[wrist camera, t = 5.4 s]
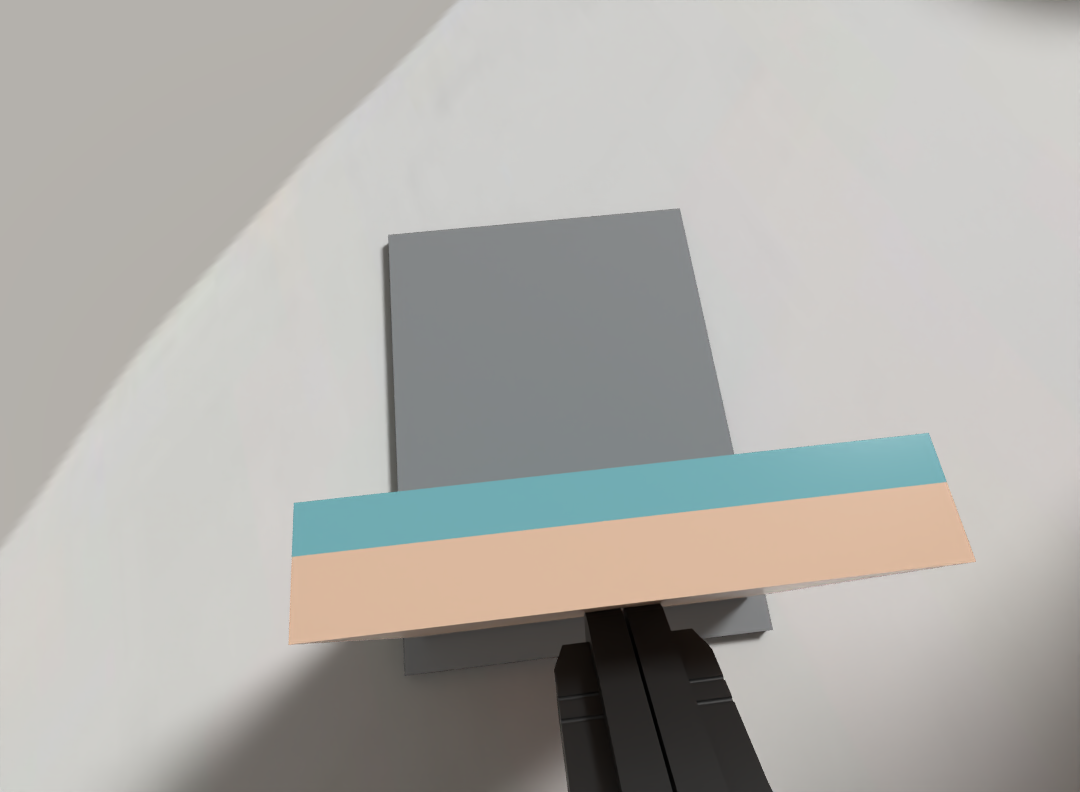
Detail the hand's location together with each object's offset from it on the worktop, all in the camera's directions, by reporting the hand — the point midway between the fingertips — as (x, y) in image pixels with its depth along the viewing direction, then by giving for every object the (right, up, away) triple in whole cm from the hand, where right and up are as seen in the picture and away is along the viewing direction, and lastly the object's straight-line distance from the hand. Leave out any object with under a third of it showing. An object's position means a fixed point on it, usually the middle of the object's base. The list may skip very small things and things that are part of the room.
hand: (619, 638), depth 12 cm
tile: (0, -1, +6) cm, 7 cm away
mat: (-1, +4, +9) cm, 10 cm away
